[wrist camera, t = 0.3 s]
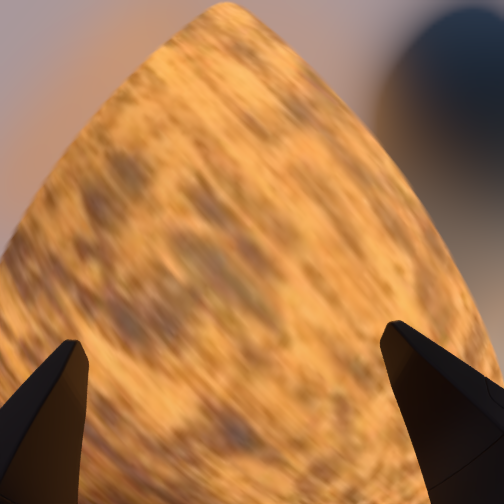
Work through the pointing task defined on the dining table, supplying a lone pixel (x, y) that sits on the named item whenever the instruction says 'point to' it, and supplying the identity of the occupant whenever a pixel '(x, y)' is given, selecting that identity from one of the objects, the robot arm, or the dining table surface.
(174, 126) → the dining table surface
